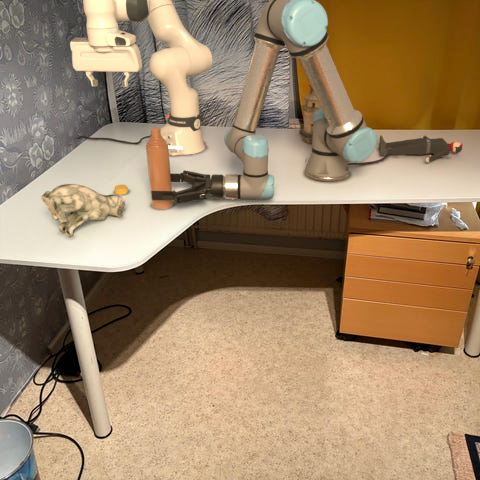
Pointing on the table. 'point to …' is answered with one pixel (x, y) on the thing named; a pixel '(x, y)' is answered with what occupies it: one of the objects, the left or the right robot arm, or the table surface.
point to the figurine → (80, 205)
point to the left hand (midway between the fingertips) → (110, 86)
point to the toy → (420, 147)
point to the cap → (121, 189)
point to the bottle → (159, 167)
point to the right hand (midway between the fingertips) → (155, 186)
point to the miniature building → (309, 115)
